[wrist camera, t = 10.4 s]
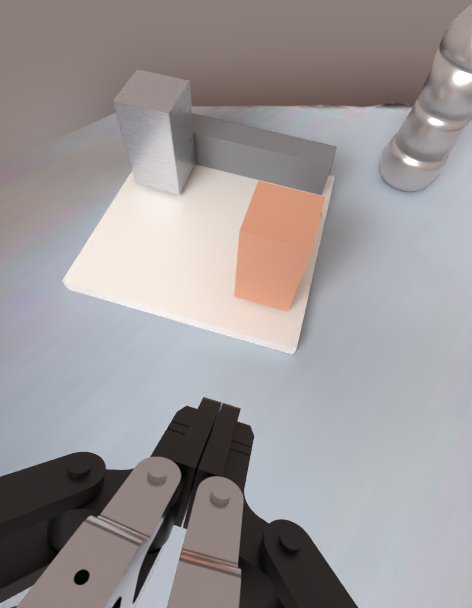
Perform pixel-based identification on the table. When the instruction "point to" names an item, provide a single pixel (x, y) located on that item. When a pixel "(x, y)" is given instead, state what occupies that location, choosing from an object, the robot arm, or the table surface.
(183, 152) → the brushed metal pillar
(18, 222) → the table surface
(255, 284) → the tall salmon pillar
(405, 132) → the plastic bottle
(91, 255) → the plate
